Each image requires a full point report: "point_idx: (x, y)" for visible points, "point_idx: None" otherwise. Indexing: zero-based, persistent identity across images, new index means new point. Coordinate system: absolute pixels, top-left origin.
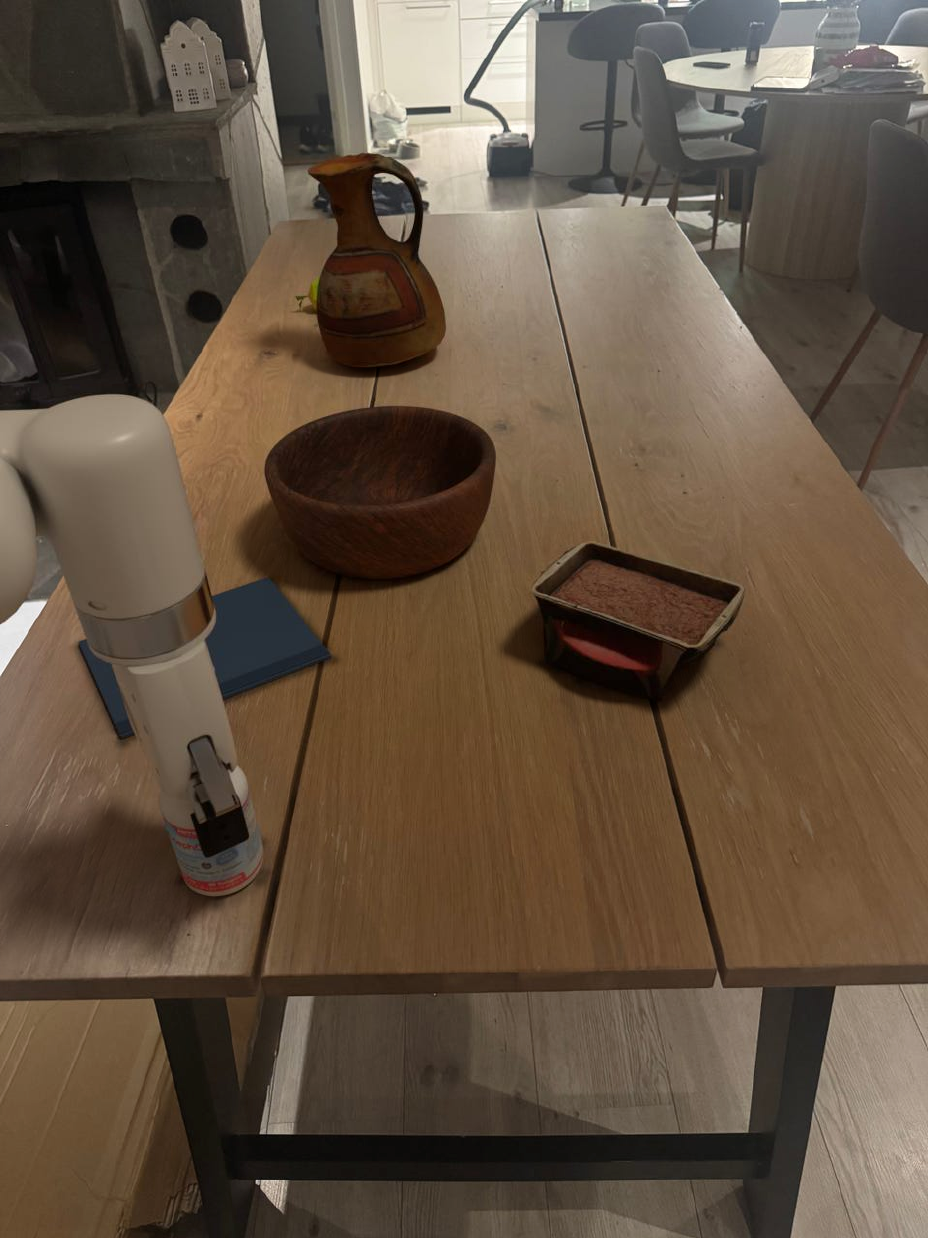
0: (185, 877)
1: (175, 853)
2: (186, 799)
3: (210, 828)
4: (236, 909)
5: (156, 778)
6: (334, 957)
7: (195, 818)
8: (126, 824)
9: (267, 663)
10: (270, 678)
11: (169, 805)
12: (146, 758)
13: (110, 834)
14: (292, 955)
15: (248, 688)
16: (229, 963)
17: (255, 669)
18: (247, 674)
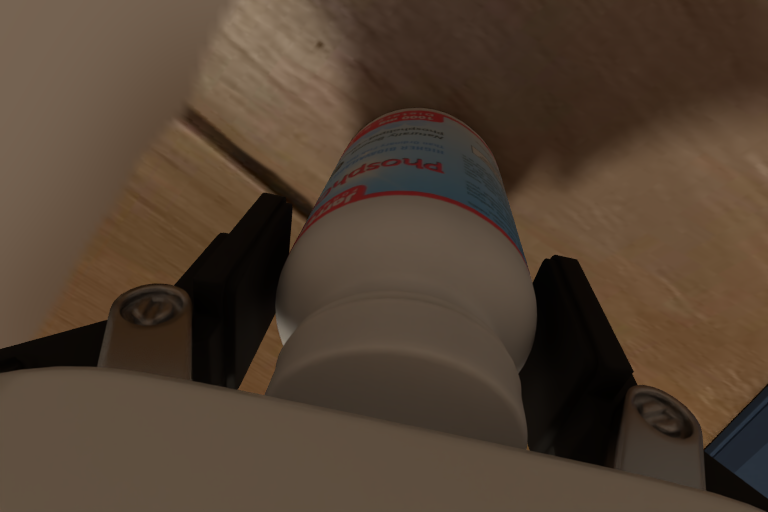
0: (411, 115)
1: (427, 137)
2: (332, 300)
3: (178, 283)
4: (314, 146)
5: (122, 418)
6: (137, 206)
7: (193, 286)
8: (698, 92)
9: (745, 468)
10: (710, 452)
11: (387, 244)
12: (361, 455)
13: (712, 45)
14: (172, 163)
15: (734, 423)
16: (212, 72)
17: (756, 453)
18: (762, 442)
